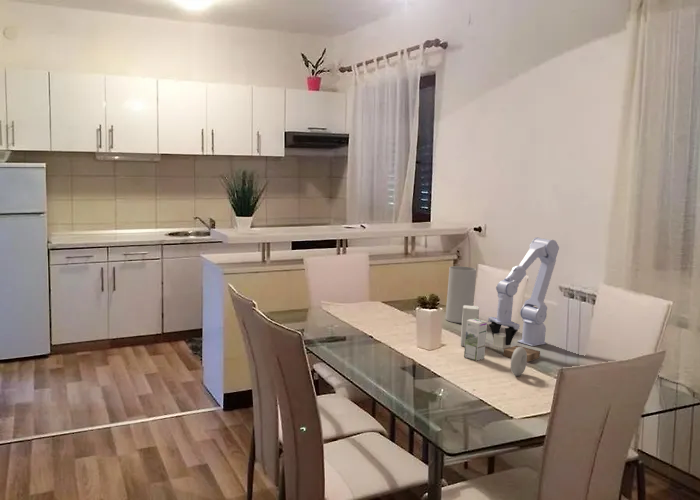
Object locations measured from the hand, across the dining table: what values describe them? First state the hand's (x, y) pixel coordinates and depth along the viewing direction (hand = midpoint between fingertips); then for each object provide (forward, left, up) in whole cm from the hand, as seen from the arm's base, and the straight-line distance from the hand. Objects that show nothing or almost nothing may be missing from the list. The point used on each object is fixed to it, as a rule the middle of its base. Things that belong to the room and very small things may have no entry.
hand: (501, 342), depth 267 cm
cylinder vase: (-18, -41, -2) cm, 45 cm away
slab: (+5, +14, -2) cm, 15 cm away
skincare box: (+11, -8, -2) cm, 14 cm away
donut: (+26, +29, -2) cm, 39 cm away
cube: (0, 0, -2) cm, 2 cm away
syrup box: (+24, +7, -2) cm, 25 cm away
